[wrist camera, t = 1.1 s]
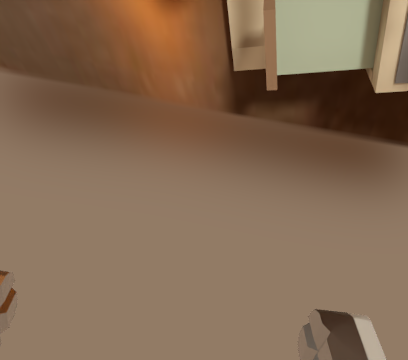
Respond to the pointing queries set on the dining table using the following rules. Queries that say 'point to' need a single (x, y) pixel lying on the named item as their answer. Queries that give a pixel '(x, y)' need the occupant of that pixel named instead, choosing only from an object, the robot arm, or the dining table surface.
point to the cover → (319, 36)
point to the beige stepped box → (379, 75)
